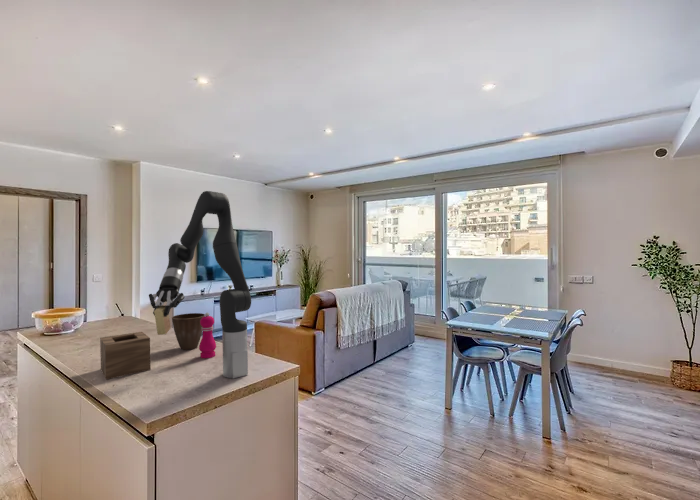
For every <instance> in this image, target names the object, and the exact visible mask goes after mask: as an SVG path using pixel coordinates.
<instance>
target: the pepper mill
mask: <svg viewBox="0 0 700 500" xmlns="http://www.w3.org/2000/svg"><path fill="white" fill-rule="evenodd" d="M204 314H205V316H204V317H203V318H202V319H201V320H200V324H201V326H202V335H201V339H200V341H199V344H198V350H199V351H200V354H199V355H200V358H201V359H211V358H215V356H216V351H215V350H216V348H217V344H216V340H215V339H214V335H213V330H214V326H213V325H214V324H215V319H214V317H213V316H211V315H210V313H209V312H206V313H204Z"/></svg>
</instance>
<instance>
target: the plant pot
mask: <svg viewBox="0 0 700 500" xmlns="http://www.w3.org/2000/svg"><path fill="white" fill-rule="evenodd" d="M205 314H206V313H201V312H200V313H199V312H198V313H197V312H195V313H193V312H192V313H191V312H190V313H181V314H177V315H173V316H172V317H171V321H172V327H173V330H174V335H175V338H176V341H177V343H178V346H179V348H180V350H182V351H191V350H194V349H197V348H198V347H199V345H200V342H201V339H202V335H203V331H202V326H201V324H200V320H201V319H202V318H203V317H204V316H205Z"/></svg>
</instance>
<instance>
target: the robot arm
mask: <svg viewBox="0 0 700 500" xmlns="http://www.w3.org/2000/svg"><path fill="white" fill-rule="evenodd" d="M196 201H197V202H196V204H195V206H194V210H193V212H192V214H191V215H192V216H191V219H190V221H189V223H188V225H187V227H186V229H185V230H184V232H183V234H182V236H181V237H180V240H179V241H180V242H179V243H178V242H177V243H176V242H175V243H173V244H172V243H171V245H170V246H169V248H168V253H167V254H168V256H167V257H168V262H167V263H168V265H167V267H166V269H165V272H164V274H163V276H162V279H161V281H160V284H159V287H158V290H157V291H156V293H153V294H152V293H149V294H148V299H149V303H150V305H151V307H152V308H153V312H152V314H153V316H154V317H155V314H154V311H155V310H156V309H157V308H158V307H159V306H165V305H164V304H165V303H166V305H167V306H165V311H164V316H165V317H167V315H169V316H170V311H171V309H176V308H177V307H178V306H179V305H180V303H181V302H182V301H183V300H184V299H185V295H184V293H183V292H180V289H181V287H182V284H183V281H184V274H185V271H186V268H187V267H186V266H187V264H188V263H191V262H192V261H193V259H194V257H195V251H196V248H197V246H198V243H200V241H201V239H202V237H203V235H204V225H203V223H204V222H203V219H204V217H206V215H207V214H210V215H216V216H217V220H218V229H217V231H216V234H215V235H214V239H213V240H212V249H213V254H214V258H215V262H216V263H217V264H218V266H219V267H220V268H221V269H222V270H223V271H224V272H225V273H226V274H227V276H228V278H230V281H231V282H232V285H233V289H230V288H229V289H225V290H223V291H222V292H221V294H220V295H219V312H220V324H221V328H222V329H221V330H222V338H221V341H222V376H223V377H225V378H228V379H229V378H230V379H237V378H239V377H240V378H241V377H245V376H248V375H249V369H248V368H249V361H248V360H249V359H248V358H249V356H248V355H249V354H248V352H249V351H248V322H246V321H245V320H242V319H238V318H237V315H236V314H237V313H241V312H246V311H248V310H249V309H250V308H251V306H252V296H251V291H250V289H249V286H248V285H249V284H248V283H247V280H246V276H245V274H244V270H243V267H242V263H241V258H240V254H239V253H240V252H239V249H238V243H237V240H236V237H235V231H234V228H233V227H234V226H233V220H232V211H231V205H230V201H229V197H228V196H227V195H226V194H225V193H223V192H218V191H212V190H211V191H210V190H204V191H203V192H201V193H200V195H199V197H198V198H197V200H196Z"/></svg>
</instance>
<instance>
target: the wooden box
mask: <svg viewBox="0 0 700 500" xmlns="http://www.w3.org/2000/svg"><path fill="white" fill-rule="evenodd" d="M99 340H100V344H99V345H100V346H99V348H100V350H99V351H100V371H101V370H102V371H101V372H103V373H102V375H103V377H104V379H105V380H110V379H113V378H119V377H123V376H129V375H134V374H137V373H142V372H143V373H144V372H147V371H150V370H152V369H151V337H150V336H148V335H147V334H146V333H144V332H143V331H136V332H131V333H130V332H129V333H122V334H115V335H110V336H104V337H100V339H99Z"/></svg>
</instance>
